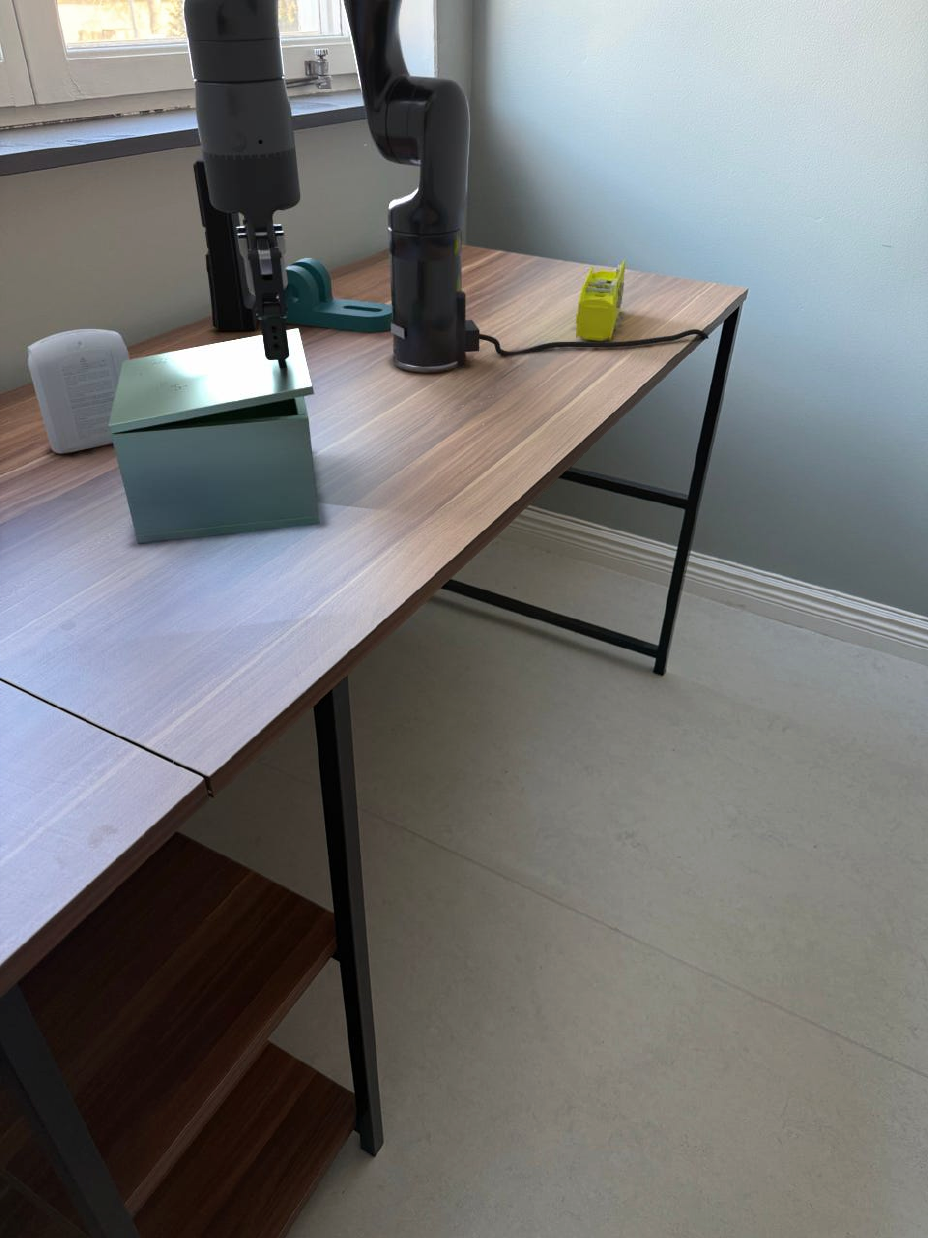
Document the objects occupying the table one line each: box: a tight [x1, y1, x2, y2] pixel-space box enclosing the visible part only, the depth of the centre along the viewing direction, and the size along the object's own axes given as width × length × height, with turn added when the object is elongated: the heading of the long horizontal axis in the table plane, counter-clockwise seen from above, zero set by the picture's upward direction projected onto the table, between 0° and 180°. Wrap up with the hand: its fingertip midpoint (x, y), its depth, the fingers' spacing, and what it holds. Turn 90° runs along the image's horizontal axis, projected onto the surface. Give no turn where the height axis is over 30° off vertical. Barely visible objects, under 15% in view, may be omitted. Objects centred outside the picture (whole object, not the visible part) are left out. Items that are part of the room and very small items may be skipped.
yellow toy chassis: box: [575, 259, 626, 342], centre depth 130 cm, size 16×6×8 cm, turn 167°
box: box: [111, 396, 320, 544], centre depth 87 cm, size 17×16×11 cm
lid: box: [108, 300, 315, 434], centre depth 81 cm, size 18×16×6 cm
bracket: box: [276, 257, 392, 333], centre depth 132 cm, size 18×7×8 cm, turn 72°
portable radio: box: [193, 153, 259, 332], centre depth 126 cm, size 8×6×25 cm
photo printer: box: [27, 328, 131, 455], centre depth 96 cm, size 10×4×12 cm, turn 124°
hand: (275, 346), depth 82 cm, fingers closed on lid, 5 cm apart
